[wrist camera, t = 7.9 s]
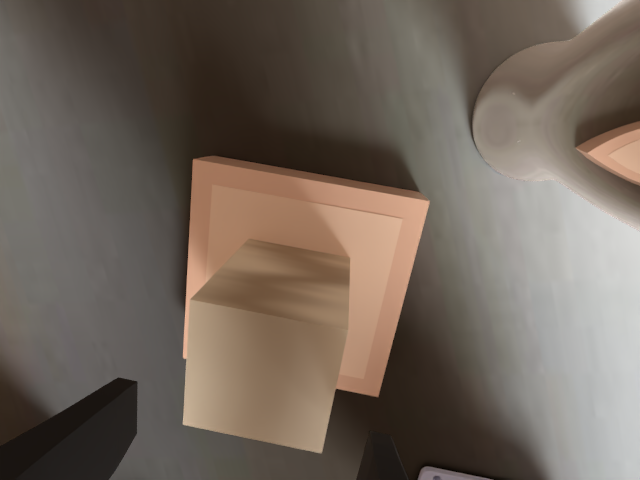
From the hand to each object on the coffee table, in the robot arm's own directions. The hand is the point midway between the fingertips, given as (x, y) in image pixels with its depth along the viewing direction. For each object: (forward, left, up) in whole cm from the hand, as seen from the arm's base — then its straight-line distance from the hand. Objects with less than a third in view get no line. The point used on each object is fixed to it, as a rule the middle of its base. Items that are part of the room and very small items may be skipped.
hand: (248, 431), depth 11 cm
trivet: (0, -1, -10) cm, 10 cm away
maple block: (0, -1, -8) cm, 8 cm away
